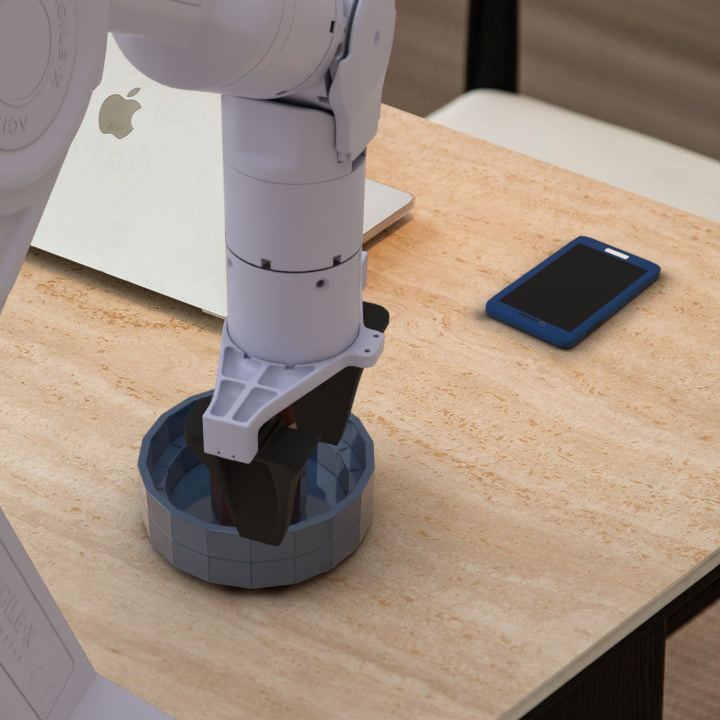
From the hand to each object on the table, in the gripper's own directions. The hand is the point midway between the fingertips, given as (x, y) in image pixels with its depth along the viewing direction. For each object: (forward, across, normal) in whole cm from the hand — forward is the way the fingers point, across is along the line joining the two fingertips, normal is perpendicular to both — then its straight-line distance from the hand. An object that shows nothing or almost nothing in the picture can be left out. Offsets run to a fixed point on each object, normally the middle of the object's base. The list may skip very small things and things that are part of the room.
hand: (292, 484), depth 59 cm
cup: (+9, +7, +5) cm, 12 cm away
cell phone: (+9, +37, -8) cm, 39 cm away
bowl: (+9, +7, +5) cm, 13 cm away
